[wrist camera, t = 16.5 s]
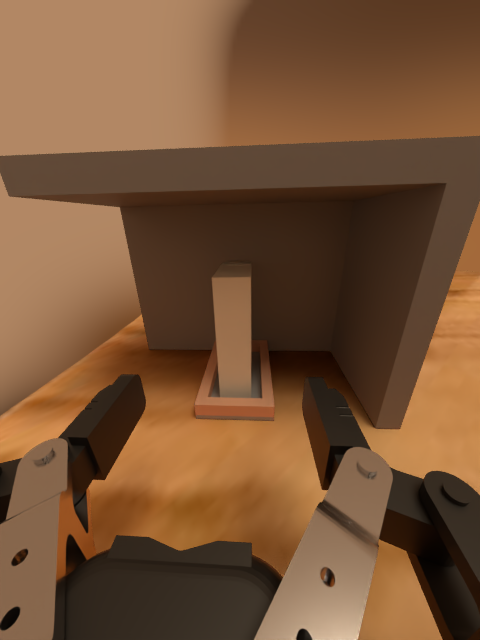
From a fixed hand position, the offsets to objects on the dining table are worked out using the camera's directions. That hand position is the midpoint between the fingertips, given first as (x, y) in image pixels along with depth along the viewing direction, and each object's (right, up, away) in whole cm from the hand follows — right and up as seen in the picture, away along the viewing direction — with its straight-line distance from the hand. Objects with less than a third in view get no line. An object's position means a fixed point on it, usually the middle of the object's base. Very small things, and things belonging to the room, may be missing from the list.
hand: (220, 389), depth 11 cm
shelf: (+1, -3, +15) cm, 15 cm away
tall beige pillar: (+1, -3, +15) cm, 15 cm away
